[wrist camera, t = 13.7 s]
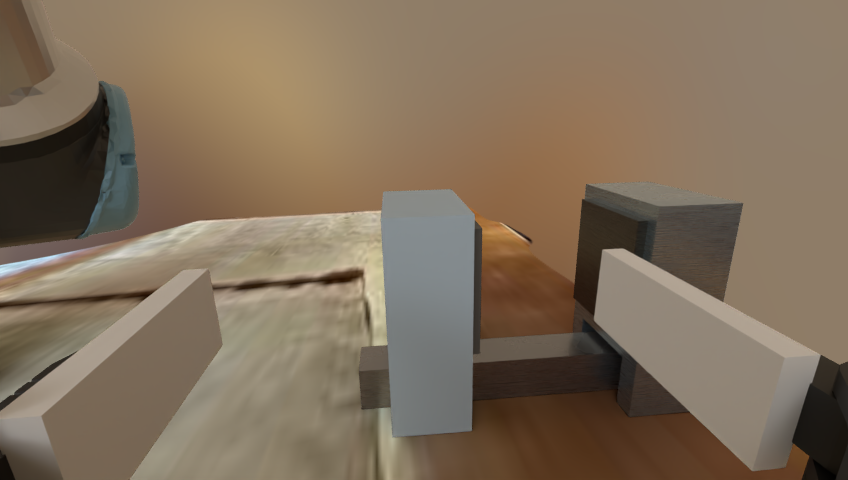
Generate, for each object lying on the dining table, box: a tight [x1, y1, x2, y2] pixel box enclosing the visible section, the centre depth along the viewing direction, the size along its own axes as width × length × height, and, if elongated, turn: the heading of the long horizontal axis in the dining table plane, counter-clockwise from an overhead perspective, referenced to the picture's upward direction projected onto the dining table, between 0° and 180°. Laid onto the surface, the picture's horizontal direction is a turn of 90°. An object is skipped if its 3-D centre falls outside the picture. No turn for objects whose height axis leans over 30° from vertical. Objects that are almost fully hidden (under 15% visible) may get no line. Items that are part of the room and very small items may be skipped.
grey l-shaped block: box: [359, 182, 743, 417], centre depth 28 cm, size 22×9×14 cm, turn 95°
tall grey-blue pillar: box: [381, 189, 482, 437], centre depth 27 cm, size 9×6×14 cm, turn 5°
